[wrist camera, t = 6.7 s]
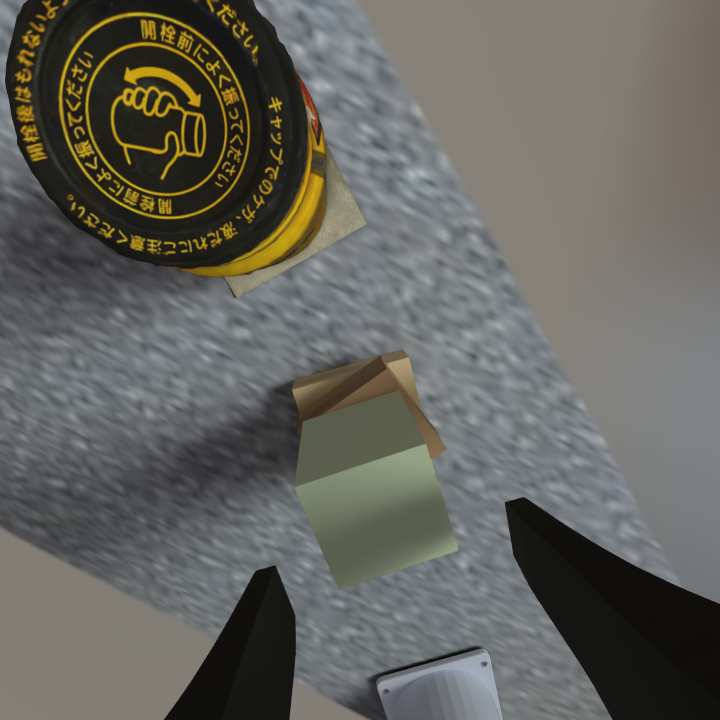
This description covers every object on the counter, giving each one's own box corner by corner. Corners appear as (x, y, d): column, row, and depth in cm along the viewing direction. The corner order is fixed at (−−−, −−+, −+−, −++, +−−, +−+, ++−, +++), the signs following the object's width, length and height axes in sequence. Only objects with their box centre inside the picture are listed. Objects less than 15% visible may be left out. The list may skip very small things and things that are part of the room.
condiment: (237, 297, 20) (113, 369, 8) (128, 126, 17) (-272, -121, 6) (366, 224, 19) (431, 189, 8) (273, 38, 17) (160, -423, 5)
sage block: (424, 473, 19) (458, 550, 14) (335, 502, 19) (339, 589, 14) (398, 389, 17) (426, 443, 13) (302, 421, 18) (294, 487, 13)
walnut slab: (434, 428, 21) (446, 449, 19) (357, 480, 21) (361, 507, 19) (380, 355, 19) (386, 368, 17) (299, 413, 20) (296, 432, 18)
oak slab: (423, 441, 23) (433, 460, 21) (325, 468, 23) (325, 490, 21) (400, 346, 22) (408, 357, 19) (294, 376, 22) (292, 389, 19)
